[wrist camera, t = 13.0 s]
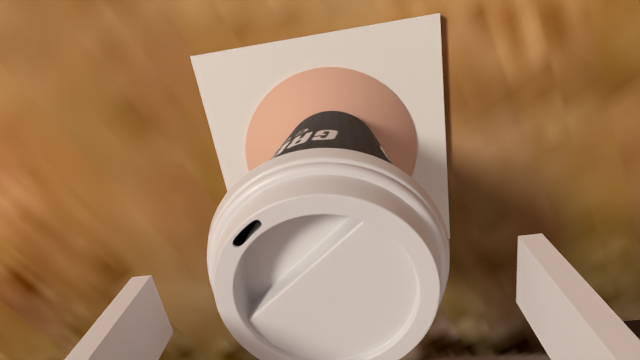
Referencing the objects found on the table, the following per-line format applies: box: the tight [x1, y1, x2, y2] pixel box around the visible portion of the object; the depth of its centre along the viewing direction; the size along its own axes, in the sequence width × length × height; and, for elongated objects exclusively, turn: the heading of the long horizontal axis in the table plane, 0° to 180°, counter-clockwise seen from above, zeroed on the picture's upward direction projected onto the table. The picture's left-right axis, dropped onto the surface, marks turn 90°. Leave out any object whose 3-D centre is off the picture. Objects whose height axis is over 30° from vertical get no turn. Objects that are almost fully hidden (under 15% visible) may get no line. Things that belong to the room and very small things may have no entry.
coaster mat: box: [190, 13, 450, 239], centre depth 28 cm, size 16×16×1 cm
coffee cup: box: [207, 111, 450, 360], centre depth 21 cm, size 10×10×15 cm
